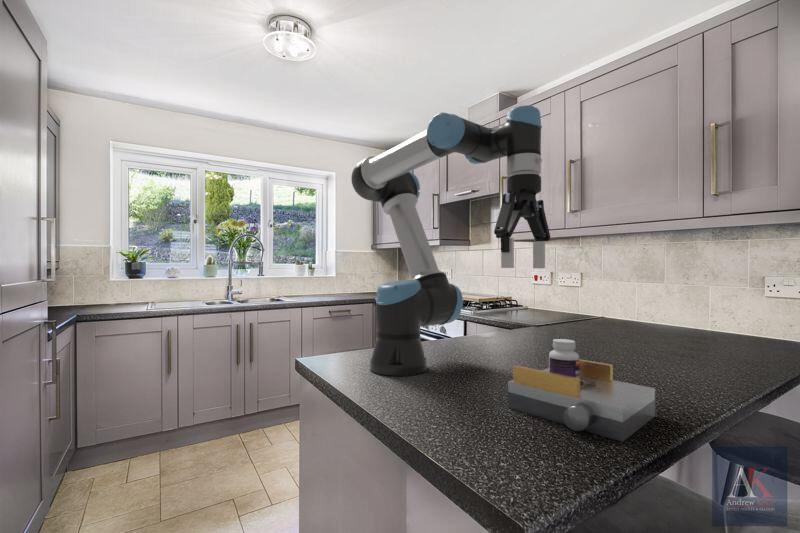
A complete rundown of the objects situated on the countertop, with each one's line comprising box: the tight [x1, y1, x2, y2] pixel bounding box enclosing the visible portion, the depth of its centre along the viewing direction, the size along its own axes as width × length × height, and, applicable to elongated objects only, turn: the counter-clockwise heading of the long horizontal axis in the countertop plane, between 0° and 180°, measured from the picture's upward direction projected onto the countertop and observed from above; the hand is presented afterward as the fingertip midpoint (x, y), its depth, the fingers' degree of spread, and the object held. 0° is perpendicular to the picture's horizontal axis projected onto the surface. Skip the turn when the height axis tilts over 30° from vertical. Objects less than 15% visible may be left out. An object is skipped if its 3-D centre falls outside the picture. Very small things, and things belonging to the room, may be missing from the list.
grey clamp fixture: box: [507, 358, 656, 443], centre depth 71 cm, size 20×19×8 cm
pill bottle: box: [548, 338, 580, 378], centre depth 75 cm, size 5×5×10 cm
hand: (524, 268), depth 90 cm, fingers open, 13 cm apart
